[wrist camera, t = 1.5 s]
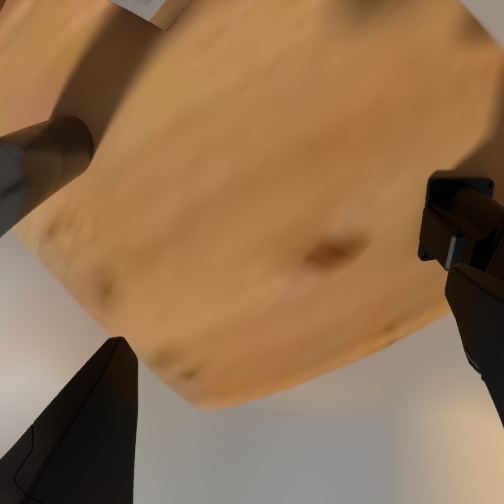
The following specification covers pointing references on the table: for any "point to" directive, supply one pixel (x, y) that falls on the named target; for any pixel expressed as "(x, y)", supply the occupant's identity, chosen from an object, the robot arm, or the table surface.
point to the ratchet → (155, 10)
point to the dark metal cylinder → (40, 165)
